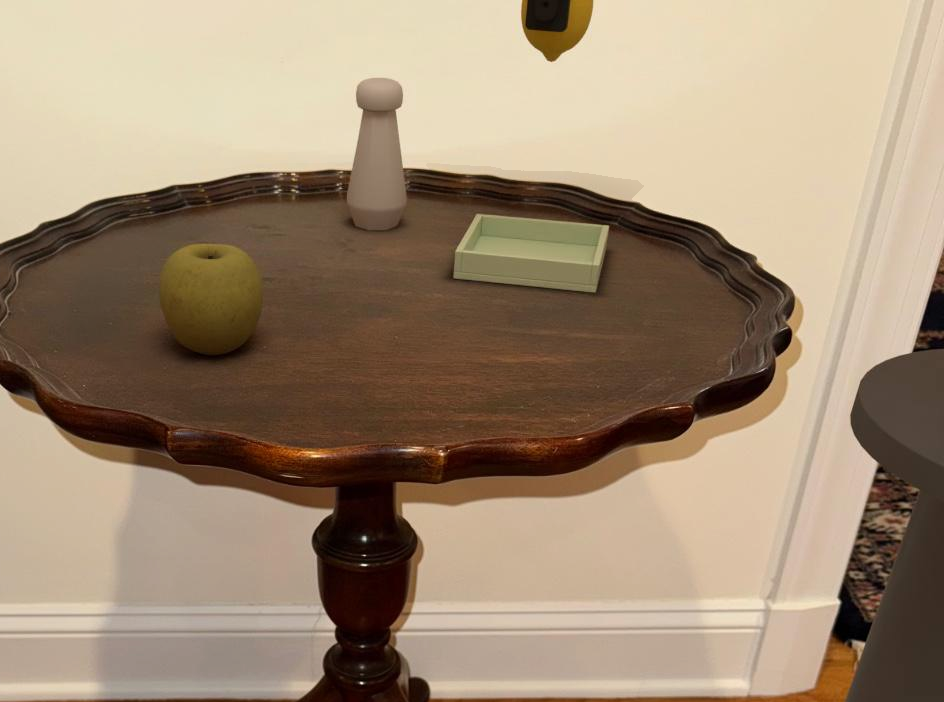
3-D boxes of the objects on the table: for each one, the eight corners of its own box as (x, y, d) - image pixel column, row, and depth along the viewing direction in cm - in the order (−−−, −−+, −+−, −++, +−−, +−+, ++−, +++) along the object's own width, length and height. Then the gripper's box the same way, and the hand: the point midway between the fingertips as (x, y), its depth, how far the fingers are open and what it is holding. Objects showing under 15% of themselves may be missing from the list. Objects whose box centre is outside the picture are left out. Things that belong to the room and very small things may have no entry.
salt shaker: (408, 233, 107) (415, 86, 100) (348, 234, 107) (350, 86, 99) (401, 214, 112) (407, 73, 105) (344, 215, 112) (346, 73, 104)
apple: (274, 329, 87) (272, 238, 83) (250, 371, 81) (246, 274, 77) (180, 322, 88) (173, 231, 84) (149, 363, 82) (140, 267, 78)
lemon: (509, 55, 92) (519, -57, 88) (575, 55, 93) (588, -57, 88) (525, 69, 88) (537, -49, 83) (594, 68, 88) (609, -49, 84)
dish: (605, 251, 104) (609, 225, 102) (595, 293, 95) (599, 265, 93) (474, 239, 106) (476, 213, 105) (453, 278, 97) (454, 251, 96)
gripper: (615, -271, 71) (577, 45, 81) (662, -259, 84) (625, 12, 94) (500, -271, 73) (478, 37, 84) (564, -259, 86) (537, 6, 96)
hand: (556, 21), depth 89 cm, fingers closed on lemon, 5 cm apart
